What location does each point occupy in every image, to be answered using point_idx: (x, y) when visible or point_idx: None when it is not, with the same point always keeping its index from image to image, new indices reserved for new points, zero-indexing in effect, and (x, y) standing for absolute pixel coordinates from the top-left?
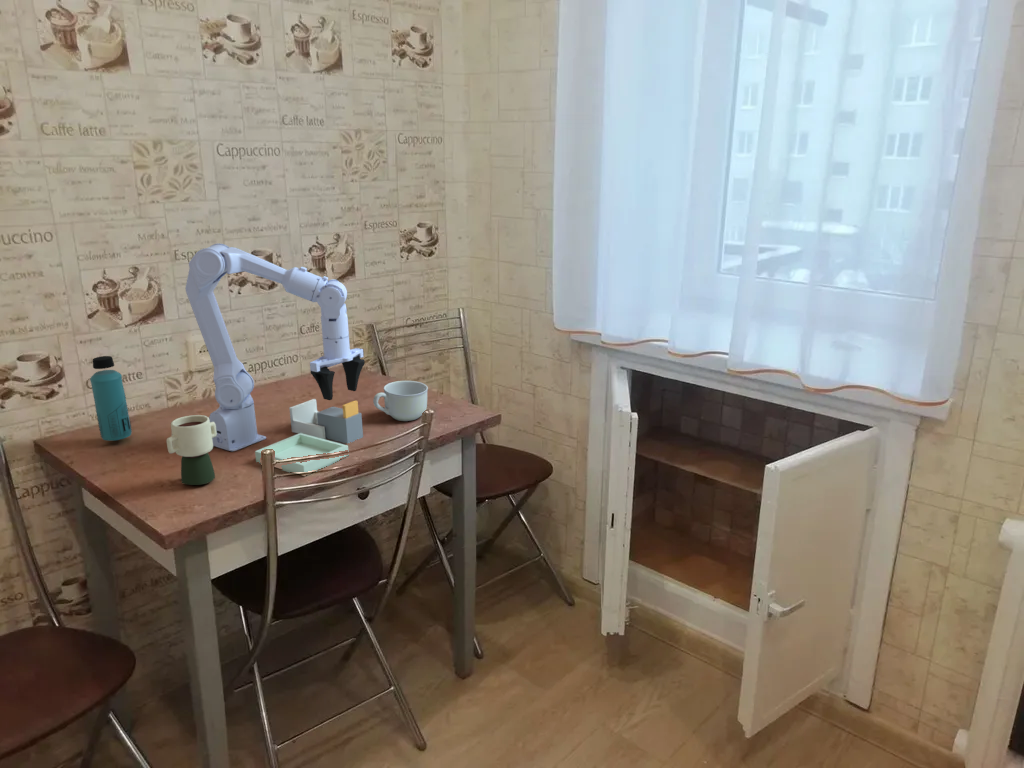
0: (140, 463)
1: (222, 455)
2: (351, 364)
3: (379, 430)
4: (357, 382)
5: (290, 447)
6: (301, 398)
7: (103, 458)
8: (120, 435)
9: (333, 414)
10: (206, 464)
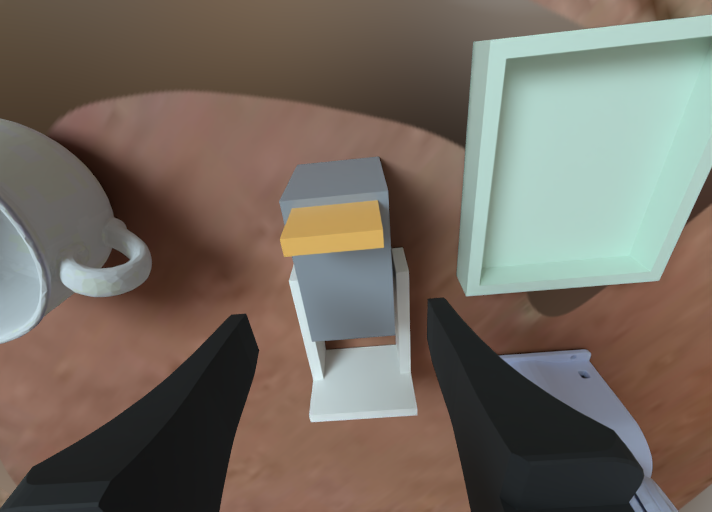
0: (697, 418)
1: (611, 349)
2: (169, 509)
3: (212, 168)
4: (204, 345)
5: (514, 264)
6: (245, 467)
7: (685, 464)
8: None
9: (373, 278)
10: None
